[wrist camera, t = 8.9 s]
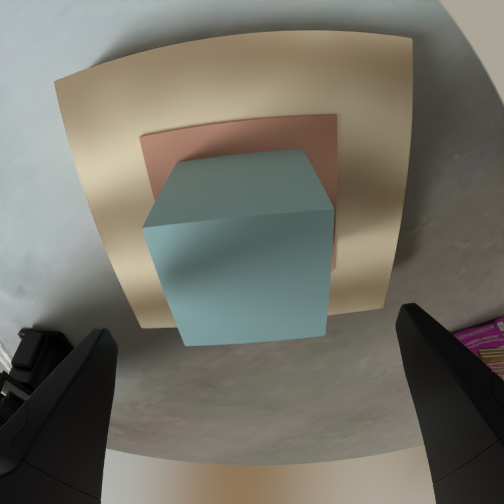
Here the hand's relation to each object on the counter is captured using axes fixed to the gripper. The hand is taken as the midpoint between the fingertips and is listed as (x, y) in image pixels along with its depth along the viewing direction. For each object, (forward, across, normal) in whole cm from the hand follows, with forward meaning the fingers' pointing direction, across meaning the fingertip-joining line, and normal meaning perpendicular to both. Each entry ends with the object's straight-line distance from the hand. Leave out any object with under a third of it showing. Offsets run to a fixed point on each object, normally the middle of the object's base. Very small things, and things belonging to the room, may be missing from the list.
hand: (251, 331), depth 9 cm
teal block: (+7, 0, 0) cm, 7 cm away
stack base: (+10, 0, 0) cm, 10 cm away
